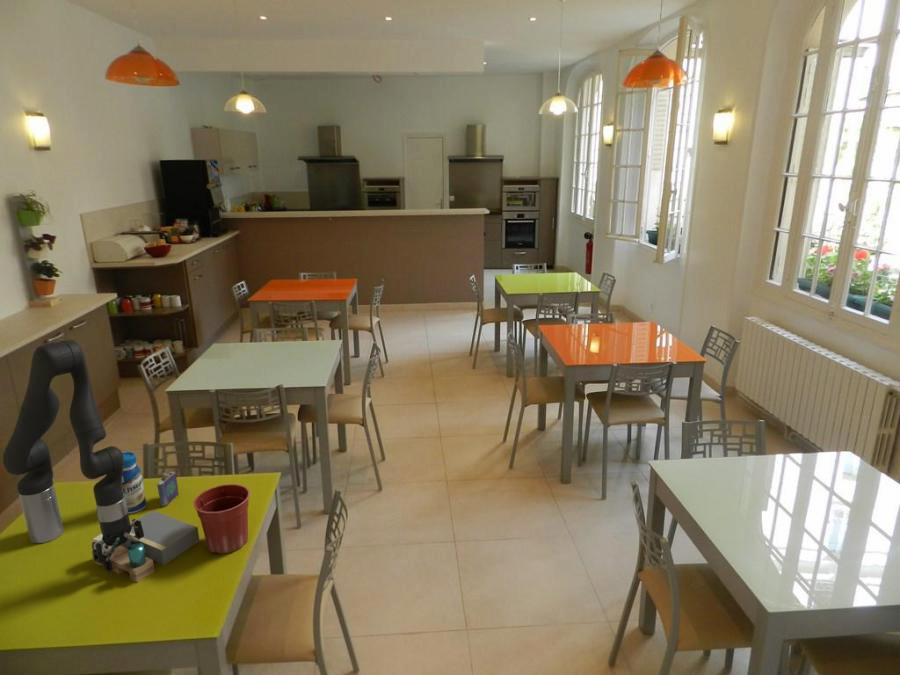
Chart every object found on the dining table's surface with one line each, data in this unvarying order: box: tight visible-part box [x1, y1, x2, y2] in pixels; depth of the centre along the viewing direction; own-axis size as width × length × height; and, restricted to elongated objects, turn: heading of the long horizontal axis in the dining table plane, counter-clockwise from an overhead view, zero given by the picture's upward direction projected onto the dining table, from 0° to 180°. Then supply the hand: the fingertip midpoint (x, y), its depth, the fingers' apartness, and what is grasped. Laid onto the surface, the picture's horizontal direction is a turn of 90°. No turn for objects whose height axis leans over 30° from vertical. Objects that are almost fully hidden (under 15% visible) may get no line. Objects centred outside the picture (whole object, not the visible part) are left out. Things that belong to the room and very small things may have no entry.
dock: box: [120, 510, 200, 565], centre depth 189 cm, size 21×13×5 cm, turn 63°
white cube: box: [92, 533, 111, 552], centre depth 181 cm, size 4×4×4 cm
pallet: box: [91, 546, 155, 583], centre depth 179 cm, size 20×6×4 cm, turn 62°
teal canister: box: [127, 543, 146, 568], centre depth 174 cm, size 4×4×5 cm
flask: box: [156, 471, 180, 508], centre depth 213 cm, size 9×3×11 cm, turn 172°
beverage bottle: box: [122, 451, 147, 515], centre depth 207 cm, size 8×8×20 cm
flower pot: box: [192, 483, 251, 555], centre depth 188 cm, size 16×16×16 cm
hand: (122, 561), depth 178 cm, fingers open, 8 cm apart
